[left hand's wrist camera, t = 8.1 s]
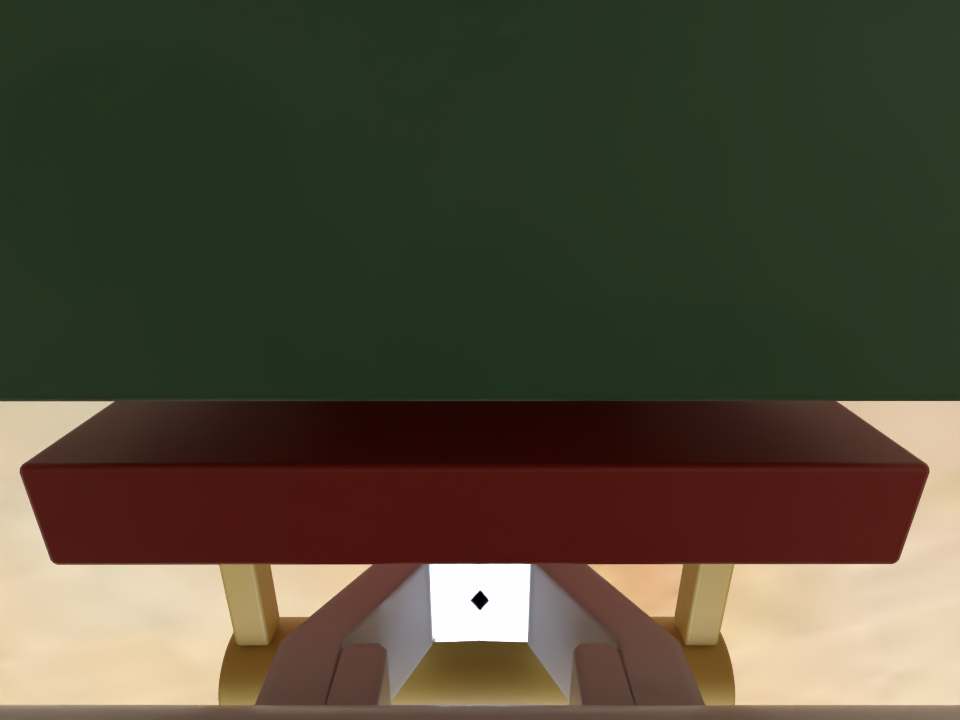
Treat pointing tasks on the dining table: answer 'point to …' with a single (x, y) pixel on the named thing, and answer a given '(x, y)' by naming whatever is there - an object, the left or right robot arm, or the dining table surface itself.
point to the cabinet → (479, 200)
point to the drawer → (474, 506)
